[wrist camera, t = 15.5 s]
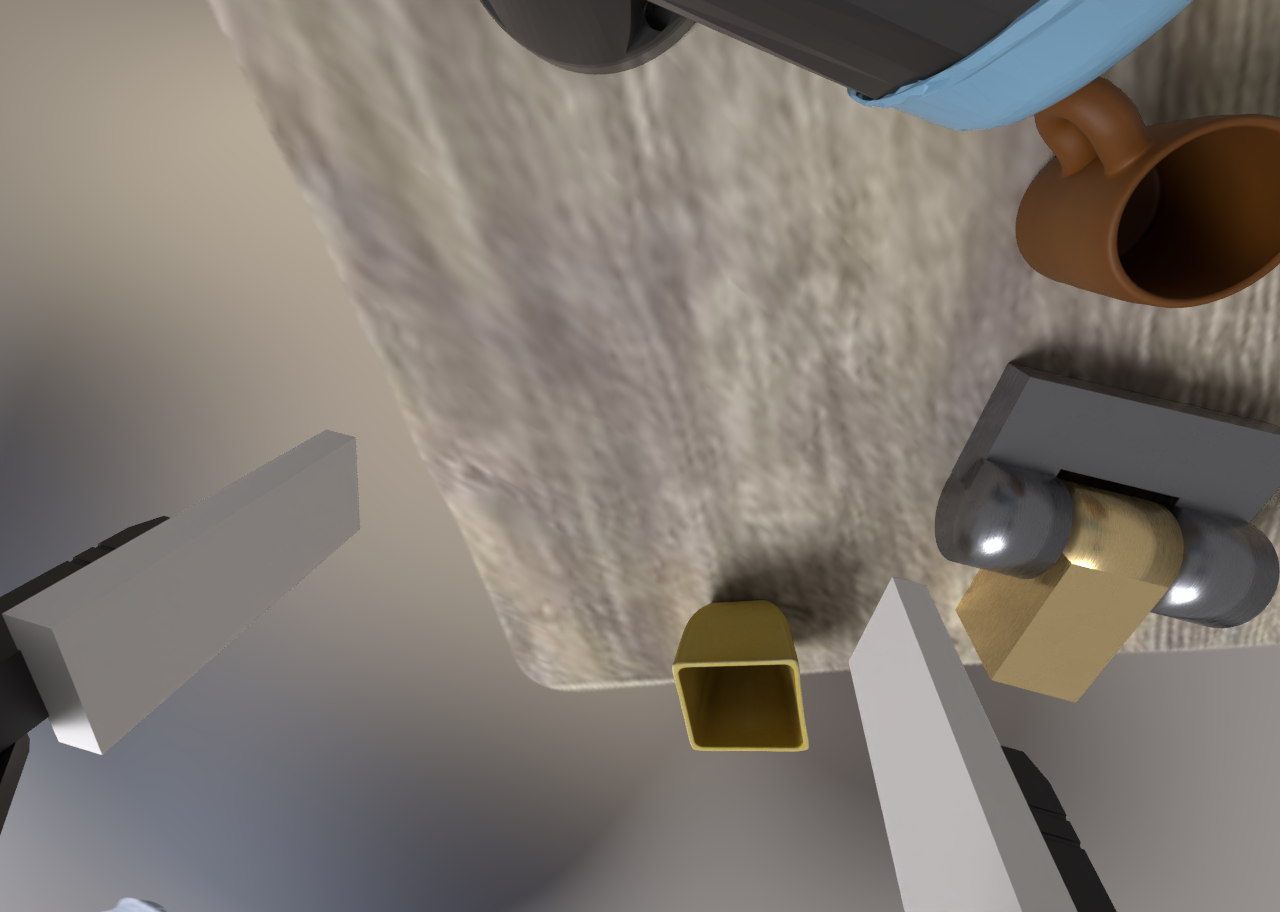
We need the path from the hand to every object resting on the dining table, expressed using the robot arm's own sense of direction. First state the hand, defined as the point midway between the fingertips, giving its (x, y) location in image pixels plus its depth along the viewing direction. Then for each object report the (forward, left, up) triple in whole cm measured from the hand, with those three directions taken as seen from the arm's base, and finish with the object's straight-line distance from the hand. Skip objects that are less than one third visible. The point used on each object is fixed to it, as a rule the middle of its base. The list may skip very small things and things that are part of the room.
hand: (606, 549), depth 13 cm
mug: (-12, +18, -27) cm, 35 cm away
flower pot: (+24, +10, -27) cm, 37 cm away
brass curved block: (+10, +28, -27) cm, 40 cm away
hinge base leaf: (+4, +28, -27) cm, 39 cm away
